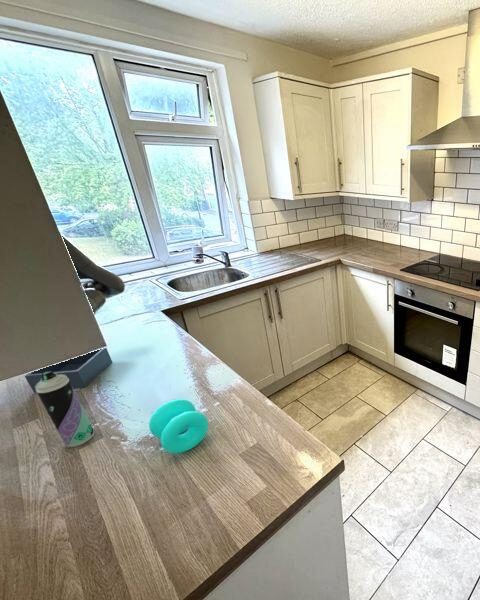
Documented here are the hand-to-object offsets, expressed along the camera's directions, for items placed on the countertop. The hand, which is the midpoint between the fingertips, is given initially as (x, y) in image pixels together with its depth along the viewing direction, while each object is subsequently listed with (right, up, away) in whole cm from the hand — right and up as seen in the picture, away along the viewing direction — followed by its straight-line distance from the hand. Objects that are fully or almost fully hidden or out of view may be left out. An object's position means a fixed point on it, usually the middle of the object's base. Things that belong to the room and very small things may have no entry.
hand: (35, 347), depth 78 cm
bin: (-17, -13, +27) cm, 35 cm away
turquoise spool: (+33, -24, +4) cm, 41 cm away
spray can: (+7, -24, +4) cm, 25 cm away
